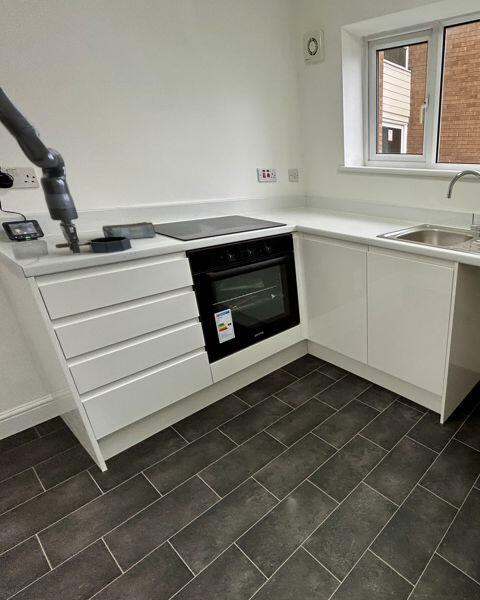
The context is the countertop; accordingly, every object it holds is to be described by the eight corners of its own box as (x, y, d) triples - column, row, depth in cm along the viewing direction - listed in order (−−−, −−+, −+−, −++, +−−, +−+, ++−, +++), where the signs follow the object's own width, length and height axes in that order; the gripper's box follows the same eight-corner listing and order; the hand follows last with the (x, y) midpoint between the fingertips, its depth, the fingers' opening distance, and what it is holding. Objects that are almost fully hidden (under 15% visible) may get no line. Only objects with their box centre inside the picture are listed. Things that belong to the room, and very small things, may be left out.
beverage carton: (105, 238, 161) (101, 223, 159) (155, 234, 172) (152, 221, 170) (105, 241, 155) (101, 226, 153) (157, 237, 166) (153, 223, 164)
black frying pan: (61, 258, 128) (57, 247, 126) (55, 252, 135) (51, 241, 134) (134, 249, 144) (131, 239, 142) (125, 244, 151) (122, 234, 150)
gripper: (44, 205, 130) (59, 249, 136) (50, 208, 122) (66, 256, 128) (70, 203, 135) (84, 247, 142) (78, 207, 127) (92, 253, 133)
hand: (75, 251), depth 135 cm, fingers open, 4 cm apart
